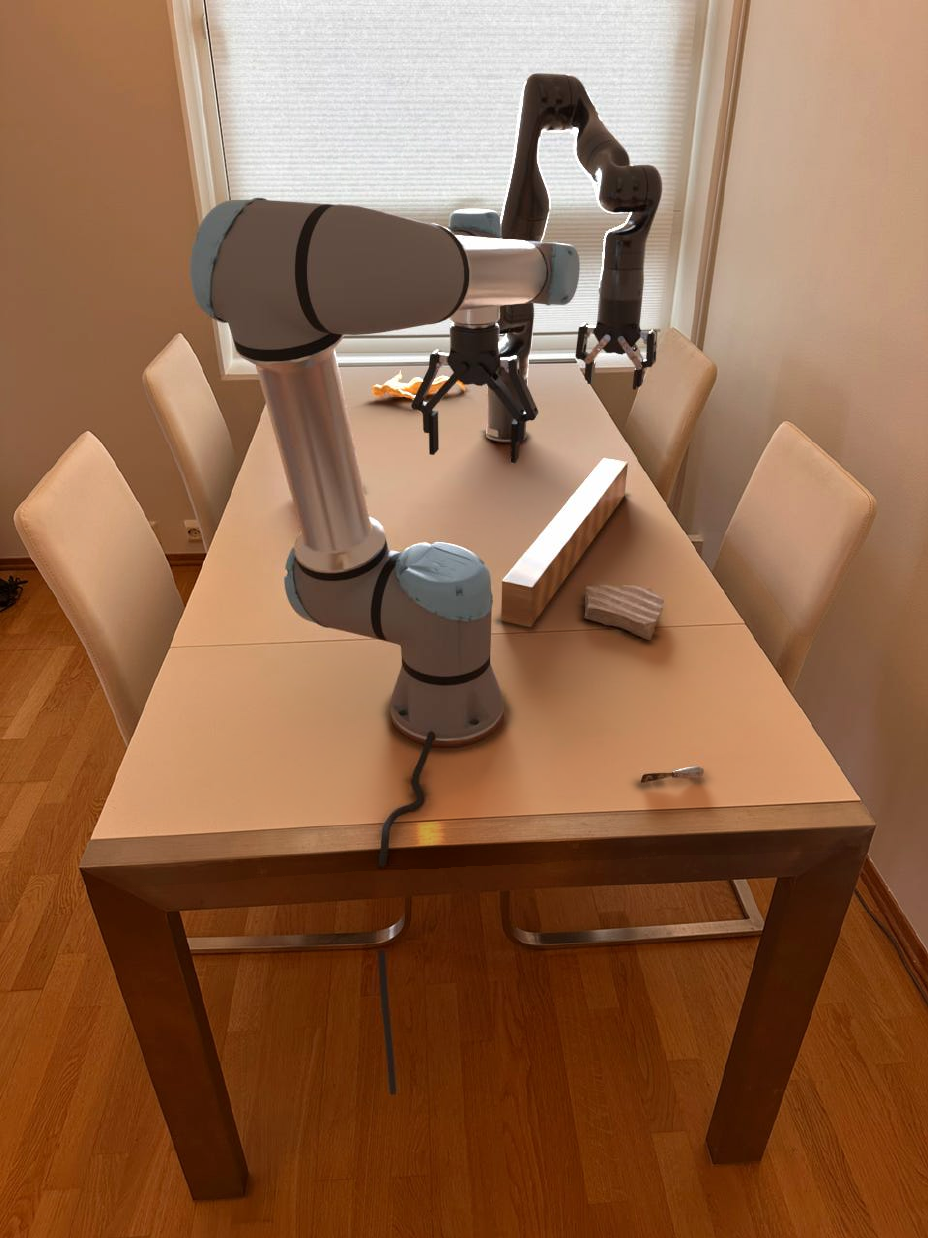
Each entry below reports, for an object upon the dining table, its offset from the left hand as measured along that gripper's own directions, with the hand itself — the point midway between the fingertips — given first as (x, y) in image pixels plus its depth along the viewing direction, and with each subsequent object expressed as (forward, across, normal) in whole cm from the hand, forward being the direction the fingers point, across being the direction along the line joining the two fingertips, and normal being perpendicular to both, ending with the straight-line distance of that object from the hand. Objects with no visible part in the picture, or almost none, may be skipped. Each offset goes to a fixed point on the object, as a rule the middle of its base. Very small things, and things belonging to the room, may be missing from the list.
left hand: (473, 456), depth 145 cm
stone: (+20, -28, +10) cm, 36 cm away
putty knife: (+21, -38, +46) cm, 63 cm away
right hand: (-4, -18, -30) cm, 35 cm away
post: (+20, -15, -11) cm, 28 cm away
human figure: (+20, +39, -88) cm, 98 cm away
